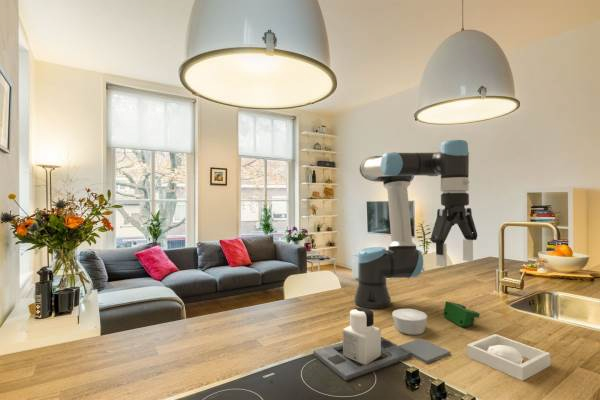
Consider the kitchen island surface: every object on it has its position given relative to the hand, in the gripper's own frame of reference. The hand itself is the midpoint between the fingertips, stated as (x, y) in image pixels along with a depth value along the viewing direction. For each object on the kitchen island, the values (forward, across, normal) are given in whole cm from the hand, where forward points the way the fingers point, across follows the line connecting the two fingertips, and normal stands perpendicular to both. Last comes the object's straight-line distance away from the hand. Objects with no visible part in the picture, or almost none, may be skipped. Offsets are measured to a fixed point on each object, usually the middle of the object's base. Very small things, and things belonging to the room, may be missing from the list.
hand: (455, 263), depth 94 cm
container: (+25, -28, +11) cm, 39 cm away
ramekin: (+25, -2, +16) cm, 30 cm away
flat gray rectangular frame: (+25, -28, +11) cm, 39 cm away
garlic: (+25, +3, -12) cm, 28 cm away
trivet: (+25, -11, +3) cm, 27 cm away
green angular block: (+25, +19, +10) cm, 33 cm away
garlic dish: (+25, +3, -13) cm, 28 cm away
